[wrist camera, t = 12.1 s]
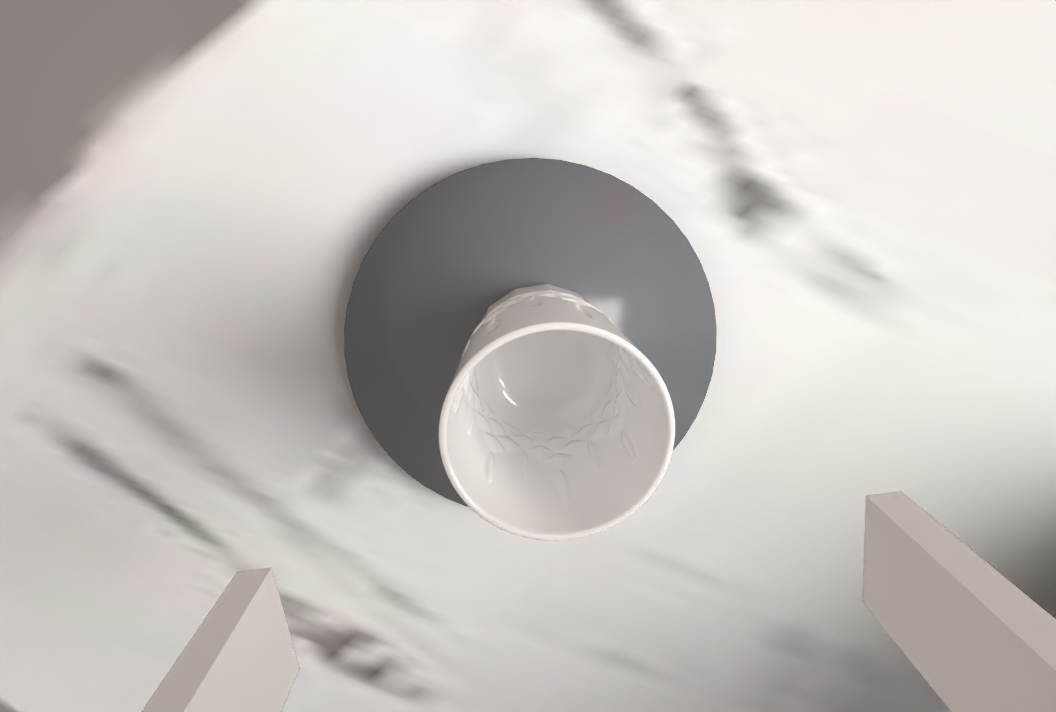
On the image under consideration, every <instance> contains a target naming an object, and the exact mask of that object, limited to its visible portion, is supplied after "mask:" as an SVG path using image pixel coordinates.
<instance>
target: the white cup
mask: <svg viewBox="0 0 1056 712" xmlns="http://www.w3.org/2000/svg"><path fill="white" fill-rule="evenodd" d="M674 440H675V417H674V410H673V405H672V401H671V398H670V395H669V392H668V390H667V387H666V385H665V383H664V381H663V379H662V378H661V376H660V374H659V373H658V371H657V370H656V368H655V367H654V366H653V364H652V363H651V362H650V361H649V360H648V359H647V358H646V357H645V356H644V355H643V353H642V352H641V351H640V350H639V349H638V348H637V347H636V346H635V345H634V344H633V343H632V342H631V341H630V340H629V339H628V337H627V336H626V335H625V334H624V333H623V332H622V331H621V330H620V329H619V328H618V327H617V326H616V325H615V324H614V323H613V322H612V321H611V320H610V318H608V317H607V316H606V315H604V314H603V313H602V312H601V311H600V310H599V309H598V308H596V307H595V306H593V305H592V304H590V303H588V302H587V301H586V300H585V299H584V298H583V297H582V296H581V295H580V294H579V293H577V292H573V291H570V290H567V289H564V288H560V287H557V286H554V285H550V284H542V285H535V286H529V287H522V288H516V289H514V290H513V291H511V292H510V293H508V294H507V295H505V296H504V297H502V298H501V299H499V300H498V301H496V302H495V303H494V304H492V305H491V306H489V307H488V309H487V311H486V313H485V314H484V316H483V318H482V320H481V321H480V323H479V325H478V326H477V327H476V328H475V330H474V331H473V333H472V335H471V337H470V339H469V341H468V343H467V345H466V347H465V349H464V352H463V354H462V356H461V359H460V362H459V364H458V367H457V370H456V372H455V375H454V377H453V380H452V383H451V385H450V388H449V390H448V393H447V395H446V398H445V400H444V403H443V407H442V411H441V415H440V422H439V447H440V453H441V458H442V462H443V465H444V468H445V471H446V473H447V475H448V478H449V480H450V482H451V483H452V485H453V487H454V488H455V490H456V491H457V493H458V494H459V496H460V497H461V498H462V499H463V501H464V502H465V503H466V504H467V505H468V506H469V507H470V508H471V509H472V510H473V511H474V512H476V513H477V514H478V515H479V516H480V517H482V518H483V519H485V520H486V521H488V522H489V523H491V524H493V525H494V526H496V527H498V528H500V529H502V530H505V531H507V532H510V533H512V534H515V535H519V536H522V537H527V538H532V539H538V540H568V539H575V538H581V537H585V536H589V535H592V534H595V533H598V532H601V531H603V530H605V529H608V528H610V527H612V526H614V525H615V524H617V523H619V522H621V521H622V520H624V519H625V518H627V517H628V516H629V515H631V514H632V513H633V512H635V511H636V510H637V509H638V508H639V507H640V506H641V505H642V504H643V503H644V502H645V501H646V500H647V499H648V498H649V497H650V495H651V494H652V493H653V492H654V490H655V489H656V487H657V486H658V484H659V483H660V481H661V479H662V478H663V476H664V474H665V472H666V469H667V467H668V465H669V462H670V459H671V455H672V451H673V447H674Z"/></svg>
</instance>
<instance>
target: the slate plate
mask: <svg viewBox="0 0 1056 712" xmlns="http://www.w3.org/2000/svg"><path fill="white" fill-rule="evenodd" d="M542 284H550V285H554V286H557V287H560V288H564V289H567V290H570V291H573V292H577V293H579V294H580V295H581V296H582V297H583V298H584V299H585V300H586V301H587V302H588V303H590V304H592V305H593V306H595V307H596V308H598V309H599V310H600V311H601V312H602V313H603V314H604V315H606V316H607V317H608V318H610V320H611V321H612V322H613V323H614V324H615V325H616V326H617V327H618V328H619V329H620V330H621V331H622V332H623V333H624V334H625V335H626V336H627V337H628V339H629V340H630V341H631V342H632V343H633V344H634V345H635V346H636V347H637V348H638V349H639V350H640V351H641V352H642V353H643V355H644V356H645V357H646V358H647V359H648V360H649V361H650V362H651V363H652V364H653V366H654V367H655V368H656V370H657V371H658V373H659V374H660V376H661V378H662V379H663V381H664V383H665V385H666V387H667V390H668V392H669V395H670V398H671V401H672V405H673V410H674V417H675V440H674V447H673V450H674V449H675V447H676V446H677V445H678V444H679V442H680V441H681V440H682V439H683V437H684V436H685V434H686V433H687V431H688V430H689V428H690V426H691V425H692V423H693V421H694V420H695V418H696V416H697V414H698V412H699V410H700V407H701V405H702V403H703V401H704V399H705V396H706V393H707V390H708V386H709V383H710V380H711V377H712V372H713V366H714V360H715V354H716V320H715V310H714V304H713V299H712V295H711V291H710V287H709V283H708V281H707V278H706V276H705V273H704V271H703V268H702V265H701V263H700V260H699V259H698V257H697V255H696V253H695V252H694V250H693V248H692V246H691V245H690V243H689V241H688V239H687V238H686V237H685V236H684V234H683V233H682V232H681V230H680V229H679V228H678V226H677V225H676V224H675V223H674V221H673V220H672V219H671V218H670V217H669V216H668V215H667V214H666V213H665V212H664V211H663V210H662V209H661V208H660V207H659V206H658V205H657V204H656V203H655V202H653V201H652V200H651V199H649V198H648V197H647V196H645V195H644V194H642V193H641V192H640V191H638V190H637V189H636V188H634V187H633V186H631V185H629V184H627V183H625V182H623V181H621V180H620V179H618V178H616V177H614V176H612V175H610V174H607V173H604V172H602V171H599V170H596V169H594V168H591V167H588V166H585V165H580V164H576V163H571V162H567V161H562V160H552V159H539V158H528V159H511V160H504V161H499V162H494V163H489V164H484V165H480V166H477V167H474V168H471V169H468V170H465V171H463V172H460V173H457V174H455V175H453V176H451V177H449V178H447V179H445V180H443V181H441V182H439V183H437V184H435V185H433V186H432V187H430V188H429V189H427V190H426V191H425V192H423V193H422V194H420V195H419V196H417V197H416V198H415V199H413V200H412V201H411V202H410V203H408V204H407V205H406V206H405V207H404V208H403V209H402V210H401V211H400V212H399V213H398V214H397V215H396V216H394V217H393V218H392V220H391V221H390V222H389V223H388V224H387V226H386V227H385V228H384V229H383V231H382V232H381V233H380V234H379V236H378V237H377V238H376V240H375V241H374V243H373V245H372V246H371V248H370V250H369V251H368V253H367V255H366V256H365V258H364V260H363V262H362V264H361V267H360V269H359V271H358V274H357V276H356V278H355V281H354V283H353V287H352V291H351V294H350V298H349V302H348V305H347V313H346V321H345V329H344V336H345V358H346V365H347V372H348V377H349V381H350V384H351V388H352V391H353V394H354V398H355V400H356V403H357V405H358V407H359V409H360V412H361V414H362V416H363V418H364V420H365V422H366V424H367V425H368V427H369V429H370V430H371V432H372V433H373V435H374V437H375V438H376V440H377V441H378V442H379V443H380V445H381V446H382V447H383V448H384V450H385V451H386V452H387V453H388V455H389V456H390V457H391V458H392V459H393V460H394V461H395V462H396V463H397V464H398V465H399V466H400V467H401V468H402V469H404V470H405V471H406V472H407V473H408V474H409V475H411V476H412V477H413V478H415V479H416V480H417V481H419V482H420V483H421V484H423V485H424V486H426V487H428V488H429V489H431V490H433V491H435V492H436V493H438V494H440V495H442V496H443V497H445V498H448V499H450V500H453V501H455V502H457V503H460V504H462V505H464V506H468V505H467V504H466V503H465V502H464V501H463V499H462V498H461V497H460V496H459V494H458V493H457V491H456V490H455V488H454V487H453V485H452V483H451V482H450V480H449V478H448V475H447V473H446V471H445V468H444V465H443V462H442V458H441V453H440V447H439V422H440V415H441V411H442V407H443V403H444V400H445V398H446V395H447V393H448V390H449V388H450V385H451V383H452V380H453V377H454V375H455V372H456V370H457V367H458V364H459V362H460V359H461V356H462V354H463V352H464V349H465V347H466V345H467V343H468V341H469V339H470V337H471V335H472V333H473V331H474V330H475V328H476V327H477V326H478V325H479V323H480V321H481V320H482V318H483V316H484V314H485V313H486V311H487V309H488V307H489V306H491V305H492V304H494V303H495V302H496V301H498V300H499V299H501V298H502V297H504V296H505V295H507V294H508V293H510V292H511V291H513V290H514V289H516V288H522V287H529V286H535V285H542ZM468 507H469V506H468Z"/></svg>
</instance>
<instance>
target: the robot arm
mask: <svg viewBox="0 0 1056 712" xmlns="http://www.w3.org/2000/svg"><path fill="white" fill-rule="evenodd" d="M862 602H863V603H864V604H865V606H866V607H867V608H868V609H869V611H870V612H871V613H872V614H873V616H874V617H875V618H876V619H877V621H878V622H879V623H880V624H881V625H882V627H883V628H884V629H885V630H886V632H887V633H888V634H889V635H890V637H891V638H892V639H893V640H894V642H895V643H896V644H897V645H898V646H899V648H900V649H901V650H902V651H903V653H904V654H905V655H906V656H907V658H908V659H909V660H910V661H911V663H912V664H913V665H914V666H915V668H916V669H917V670H918V671H919V672H920V674H921V675H922V676H923V677H924V679H925V680H926V681H927V682H928V684H929V685H930V686H931V687H932V689H933V690H934V691H935V692H936V693H937V695H938V696H939V697H940V698H941V700H942V701H943V702H944V703H945V705H946V706H947V707H948V708H949V710H950V711H951V712H1056V619H1055V618H1054V617H1052V616H1051V615H1050V614H1049V613H1048V612H1046V611H1045V610H1044V609H1043V608H1041V607H1040V606H1039V605H1038V604H1037V603H1035V602H1034V601H1033V600H1032V599H1031V598H1029V597H1028V596H1027V595H1026V594H1025V593H1023V592H1022V591H1021V590H1020V589H1019V588H1017V587H1016V586H1015V585H1014V584H1013V583H1011V582H1010V581H1009V580H1008V579H1006V578H1005V577H1004V576H1003V575H1002V574H1000V573H999V572H998V571H997V570H996V569H994V568H993V567H992V566H991V565H990V564H988V563H987V562H986V561H985V560H984V559H982V558H981V557H980V556H979V555H978V554H976V553H975V552H974V551H973V550H971V549H970V548H969V547H968V546H967V545H965V544H964V543H963V542H962V541H961V540H959V539H958V538H957V537H956V536H955V535H953V534H952V533H951V532H950V531H949V530H947V529H946V528H945V527H944V526H943V525H941V524H940V523H939V522H938V521H936V520H935V519H934V518H933V517H932V516H930V515H929V514H928V513H927V512H926V511H924V510H923V509H922V508H921V507H920V506H918V505H917V504H916V503H915V502H914V501H912V500H911V499H910V498H909V497H908V496H906V495H905V494H904V493H903V492H901V491H900V492H892V493H884V494H875V495H867V496H866V513H865V541H864V568H863V596H862ZM299 669H300V668H299V664H298V661H297V657H296V654H295V650H294V647H293V643H292V639H291V636H290V632H289V629H288V625H287V622H286V618H285V615H284V611H283V608H282V604H281V600H280V597H279V593H278V590H277V586H276V583H275V579H274V576H273V572H272V569H271V568H266V569H258V570H250V571H242V572H237V573H236V574H235V576H234V577H233V579H232V580H231V582H230V583H229V585H228V586H227V587H226V589H225V590H224V592H223V593H222V595H221V596H220V598H219V599H218V601H217V602H216V604H215V605H214V606H213V608H212V609H211V611H210V612H209V614H208V615H207V617H206V618H205V620H204V621H203V622H202V624H201V625H200V627H199V628H198V630H197V631H196V633H195V634H194V636H193V637H192V639H191V640H190V641H189V643H188V644H187V646H186V647H185V649H184V650H183V652H182V653H181V655H180V656H179V657H178V659H177V660H176V662H175V663H174V665H173V666H172V668H171V669H170V671H169V672H168V674H167V675H166V676H165V678H164V679H163V681H162V682H161V684H160V685H159V687H158V688H157V690H156V691H155V692H154V694H153V695H152V697H151V698H150V700H149V701H148V703H147V704H146V706H145V707H144V709H143V710H142V711H141V712H282V709H283V707H284V704H285V702H286V700H287V697H288V695H289V693H290V690H291V688H292V686H293V683H294V681H295V679H296V676H297V674H298V672H299Z"/></svg>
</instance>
